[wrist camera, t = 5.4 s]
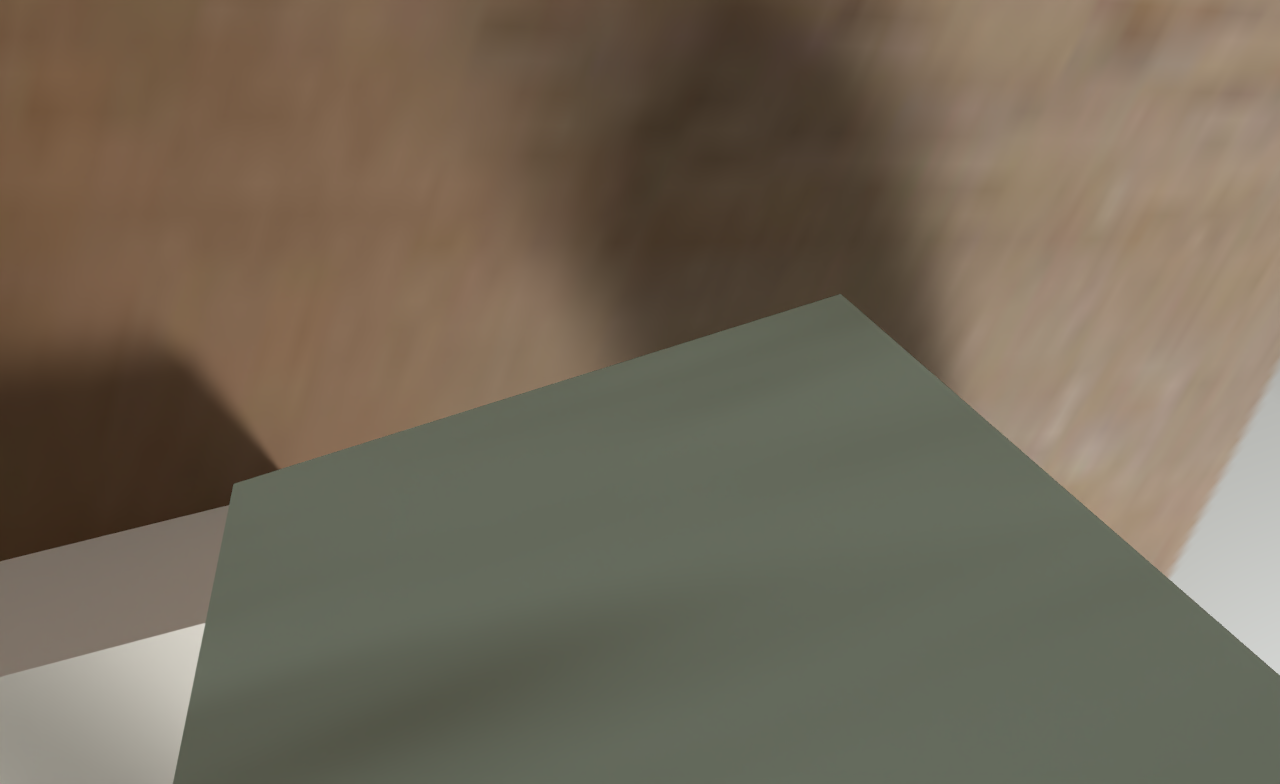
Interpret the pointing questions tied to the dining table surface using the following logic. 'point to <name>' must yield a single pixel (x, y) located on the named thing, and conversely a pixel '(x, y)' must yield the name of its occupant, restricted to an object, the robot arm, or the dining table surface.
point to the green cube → (709, 595)
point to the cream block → (104, 652)
